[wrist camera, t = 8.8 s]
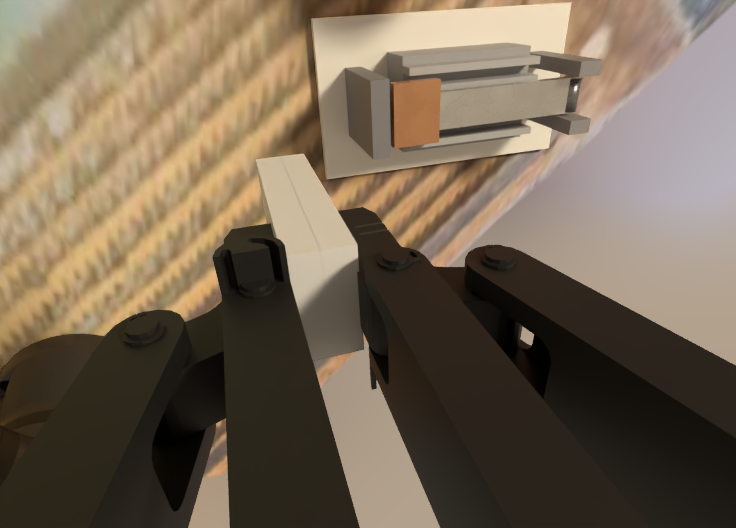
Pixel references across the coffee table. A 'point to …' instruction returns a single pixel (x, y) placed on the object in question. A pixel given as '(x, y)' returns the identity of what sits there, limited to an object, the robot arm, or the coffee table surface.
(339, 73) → the grey frame
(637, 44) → the coffee table surface
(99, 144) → the coffee table surface
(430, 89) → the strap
